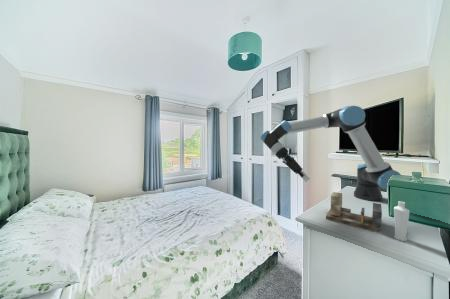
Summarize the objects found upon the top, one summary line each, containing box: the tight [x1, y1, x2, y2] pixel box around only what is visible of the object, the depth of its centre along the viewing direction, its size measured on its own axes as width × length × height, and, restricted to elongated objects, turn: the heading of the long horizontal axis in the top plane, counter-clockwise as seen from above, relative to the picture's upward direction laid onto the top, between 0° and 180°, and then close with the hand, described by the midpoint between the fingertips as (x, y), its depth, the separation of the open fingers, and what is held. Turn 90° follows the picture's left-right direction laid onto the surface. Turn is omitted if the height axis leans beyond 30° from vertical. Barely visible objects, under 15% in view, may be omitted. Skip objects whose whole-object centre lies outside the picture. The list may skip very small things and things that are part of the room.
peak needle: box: [360, 207, 366, 223], centre depth 82 cm, size 1×9×4 cm, turn 139°
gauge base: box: [325, 202, 383, 233], centre depth 85 cm, size 21×12×9 cm, turn 49°
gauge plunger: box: [330, 191, 352, 216], centre depth 88 cm, size 8×7×10 cm
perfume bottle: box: [393, 200, 411, 242], centre depth 70 cm, size 5×4×15 cm
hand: (308, 180), depth 98 cm, fingers closed
